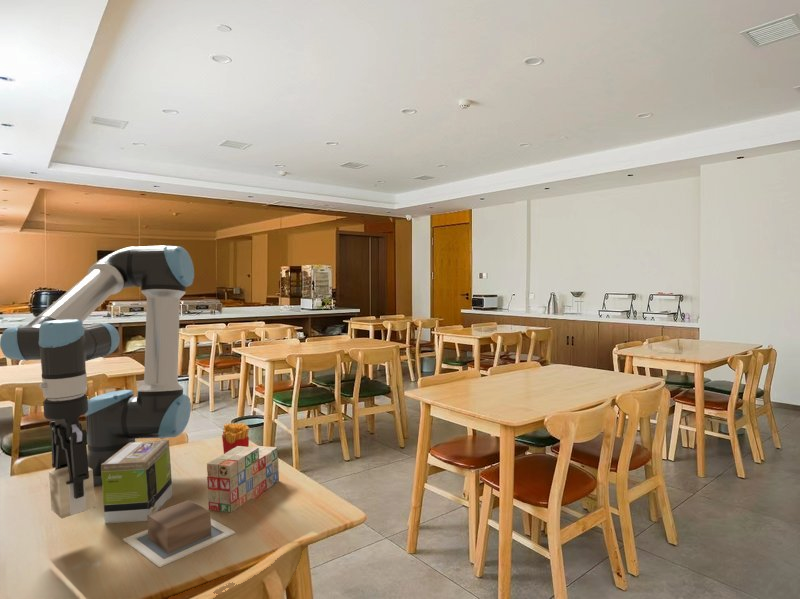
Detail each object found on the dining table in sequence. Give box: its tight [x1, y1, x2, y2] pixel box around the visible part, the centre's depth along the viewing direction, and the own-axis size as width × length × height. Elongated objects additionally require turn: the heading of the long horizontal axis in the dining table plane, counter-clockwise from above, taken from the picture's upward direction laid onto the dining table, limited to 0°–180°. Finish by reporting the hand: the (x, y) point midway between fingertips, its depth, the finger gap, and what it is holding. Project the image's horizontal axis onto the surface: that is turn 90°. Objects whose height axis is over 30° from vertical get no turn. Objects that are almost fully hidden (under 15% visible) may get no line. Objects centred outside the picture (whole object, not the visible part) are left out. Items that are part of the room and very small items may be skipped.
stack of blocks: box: [206, 445, 280, 513], centre depth 128 cm, size 21×6×12 cm, turn 163°
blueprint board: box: [123, 518, 236, 569], centre depth 107 cm, size 16×16×1 cm
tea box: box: [101, 439, 174, 524], centre depth 121 cm, size 15×10×15 cm
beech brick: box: [48, 467, 96, 519], centre depth 105 cm, size 6×6×8 cm
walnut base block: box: [147, 499, 212, 553], centre depth 107 cm, size 9×9×5 cm
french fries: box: [221, 422, 250, 454], centre depth 146 cm, size 9×4×13 cm, turn 60°
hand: (72, 507), depth 105 cm, fingers closed on beech brick, 6 cm apart
